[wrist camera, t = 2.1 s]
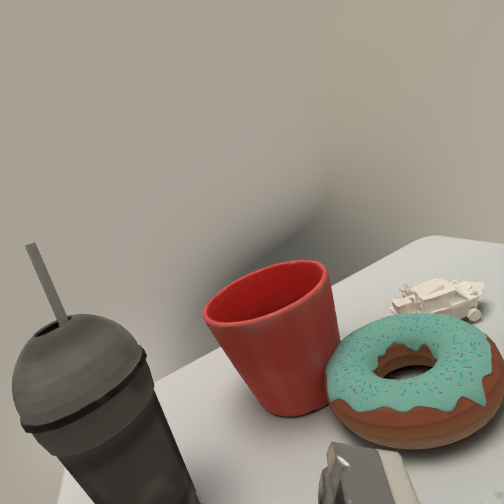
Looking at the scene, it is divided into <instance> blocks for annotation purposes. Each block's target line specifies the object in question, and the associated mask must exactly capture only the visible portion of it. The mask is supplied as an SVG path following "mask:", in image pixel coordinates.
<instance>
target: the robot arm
mask: <svg viewBox="0 0 504 504" xmlns="http://www.w3.org/2000/svg"><path fill="white" fill-rule="evenodd" d="M326 456H327V463H328V467H326V468H325V469H323V470H322V473H321V477H320V482H319V491H318V504H420V503H419V500H418V498H417V495H416V493H415V490H414V488H413V485H412V483H411V480H410V478H409V475H408V473H407V470H406V468H405V465H404V462H403V460H402V457H401V455H400V454H399V453H398V452H394V451H388V450H381V449H372V448H366V447H360V446H354V445H347V444H341V443H335V442H331V444H330V446H329V448H328V451H327V455H326Z"/></svg>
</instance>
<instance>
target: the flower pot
mask: <svg viewBox="0 0 504 504" xmlns="http://www.w3.org/2000/svg"><path fill="white" fill-rule="evenodd" d="M203 318H204V320H205V322H206V324H207V326H208V327H209V329H210V330H211V332H212V334H213V335H214V337H215V338H216V339H217V341H218V343H219V344H220V346H221V347H222V349H223V350H224V352H225V353H226V355H227V356H228V358H229V359H230V361H231V362H232V364H233V365H234V367H235V368H236V370H237V371H238V373H239V374H240V375H241V377H242V378H243V380H244V381H245V383H246V384H247V385H248V387H249V388H250V389H251V391H252V392H253V394H254V395H255V396H256V398H257V399H258V400H259V402H260V403H261V405H262V406H263V407H264V408H265V409H266V410H267V411H269V412H270V413H272V414H275V415H278V416H287V417H290V416H299V415H304V414H307V413H309V412H310V411H313V410H317V409H319V408H321V407H323V406H325V405H326V404H328V401H327V397H326V391H325V384H324V376H325V369H326V366H327V364H328V362H329V360H330V358H331V357H332V355H333V354H334V352H335V350H336V348H337V347H338V345H339V343H340V336H339V330H338V324H337V318H336V312H335V306H334V300H333V294H332V289H331V284H330V280H329V275H328V272H327V269H326V267H324V266H323V264H321V263H319V262H316V261H312V260H297V261H289V262H284V263H279V264H275V265H272V266H269V267H266V268H263V269H260V270H258V271H255V272H253V273H250V274H248V275H246V276H244V277H242V278H240V279H238V280H236V281H234V282H233V283H231V284H229V285H228V286H226V287H225V288H223V289H222V290H221V291H219V292H218V293H217V294H216V295H214V297H212V298H211V300H210V301H209V302H208V303H207V304H206V306H205V308H204V310H203Z"/></svg>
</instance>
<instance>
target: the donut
mask: <svg viewBox="0 0 504 504" xmlns="http://www.w3.org/2000/svg"><path fill="white" fill-rule="evenodd" d="M410 365H425V366H430V367H432V368H431V369H430V370H428V371H427V372H425V373H423V374H421V375H419V376H416V377H412V378H407V379H400V380H392V379H385V378H383V377H384V376H385V375H387V374H388V373H390V372H391V371H393V370H395V369H398V368H401V367H405V366H410ZM324 384H325V391H326V397H327V401H328V403H329V405H330V407H331V409H332V411H333V412H334V413H335V415H336V416H337V417H338V418H339V419H340V420H341V421H342V423H343V424H345V425H346V426H347V427H348V428H349V429H350V430H351V431H353V432H354V433H355V434H357V435H358V436H360V437H361V438H364V439H366V440H368V441H370V442H373V443H375V444H379V445H383V446H387V447H391V448H398V449H411V450H415V449H428V448H435V447H439V446H444V445H448V444H451V443H454V442H456V441H459V440H461V439H463V438H466V437H468V436H470V435H471V434H473V433H474V432H476V431H477V430H479V429H480V428H482V427H483V426H485V425H486V424H487V422H488V421H489V420H490V419H491V418H492V417H493V416H494V415H495V414H496V412H497V410H498V409H499V407H500V405H501V403H502V400H503V396H504V360H503V358H502V356H501V354H500V352H499V350H498V348H497V347H496V345H495V343H494V342H493V341H492V340H491V339H490V338H489V337H488V336H487V335H486V334H485V333H483V332H482V331H481V330H479V329H478V328H476V327H475V326H473V325H471V324H469V323H468V322H465V321H463V320H461V319H460V318H457V317H453V316H448V315H443V314H435V313H406V314H399V315H394V316H389V317H385V318H382V319H380V320H377V321H374V322H372V323H370V324H367V325H365V326H363V327H361V328H359V329H357V330H355V331H354V332H352V333H351V334H349V335H348V336H347V337H345V338H344V339H343V340H342V341H341V342H340V343H339V345H338V347H337V348H336V350H335V352H334V354H333V355H332V357H331V358H330V360H329V362H328V364H327V366H326V369H325V376H324Z"/></svg>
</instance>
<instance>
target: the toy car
mask: <svg viewBox="0 0 504 504" xmlns="http://www.w3.org/2000/svg"><path fill="white" fill-rule="evenodd" d="M403 286H405V287H406V289H399V291H402V296H403V298H402V299H401V298H395V299H393V300H391V301H392V304H393V306H391V307H389V309H390V310H391V311H392V312H393V313H394V314H395V315H399V314H406V313H435V314H443V315H448V316H453V317H457V318H460V319H461V318H464V317H466V316H467V318H468V319H469V320H471V321H477V320H479V319H480V318H481V312H480V311H479V310H478V309H476V308H477V306H478V302H479V301H478V298H479V297H480V295H481V293H482V292H483V289H484V284H483V283H481V282H459V280H458V279H457V278H455V279H454V282H453V283H451V282H449V281H447V280H445V279H442V278H438V277H436V278H433V279H431V280H428V281H425V282H423V283H420V284H418V285H416V286H414V287H412V288H410V289H409V287H408V285H407V284H403Z"/></svg>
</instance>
